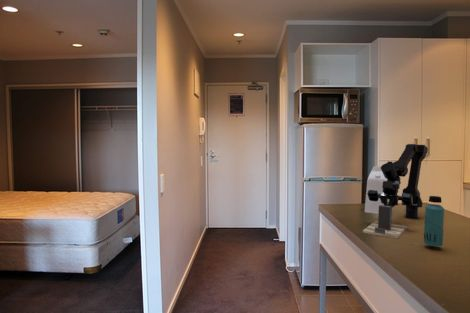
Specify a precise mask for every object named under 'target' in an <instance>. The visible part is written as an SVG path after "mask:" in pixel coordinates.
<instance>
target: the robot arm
mask: <svg viewBox="0 0 470 313" xmlns="http://www.w3.org/2000/svg"><path fill="white" fill-rule="evenodd" d="M428 152H429V148H428V146H426V144H416V143H408V144H406V145H405V147H404V149H403V152H402V153H401V155H400V156H399V158H398V160H395V161H394V162H393V161H389V160H388V161H387V162H385V163H384V164H382V165H381V166H380V167H381V170H382V173H383V175H384V177H385V178H386V179H387V181H383V185H382V188H383V192H384V193H381V194H378V191H377V190H369V191H368V193H367V194H368V197H369V200H370V201H378V199H379V198H380V200H381V203H382V204H384V205H385V206H392V209H393V208H394V207H395V206H399V201H400V202H401V206H405V214H404V218H407V219H415V220H419V219H420V217H419V215H418V214H419V208H423V200H422V198H421V192H420V190H419V189H418V187H419V180H420V172H421V168H422V167H421V166H422V162H423V161H424V160H425V158H426V157H427V154H428ZM409 164H410V168H408V166H409ZM408 173H409V174H408ZM406 175H408V180H407V186H406V187H404V188H402V193H401V195H398V193H399V190H400V188H401V183H402V182H401V179H402V177H406ZM388 199H389V203H388V201H387V200H388Z"/></svg>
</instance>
